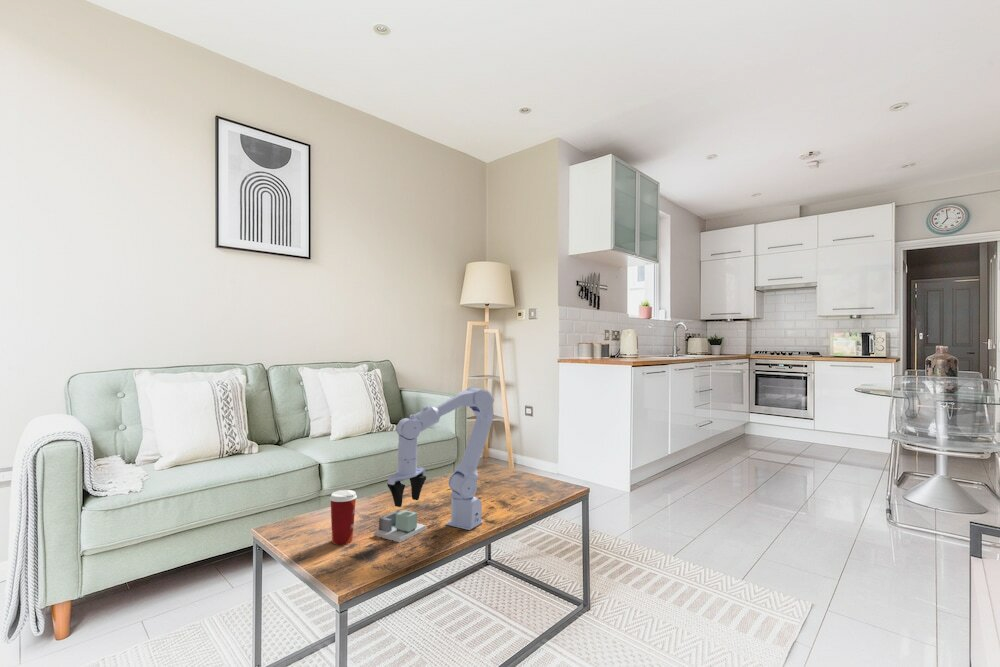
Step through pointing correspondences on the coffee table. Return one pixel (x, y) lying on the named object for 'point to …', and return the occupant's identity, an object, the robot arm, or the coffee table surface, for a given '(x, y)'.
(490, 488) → the coffee table surface
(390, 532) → the dock
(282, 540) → the coffee table surface
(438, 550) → the coffee table surface
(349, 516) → the paper cup
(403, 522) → the pale green block
